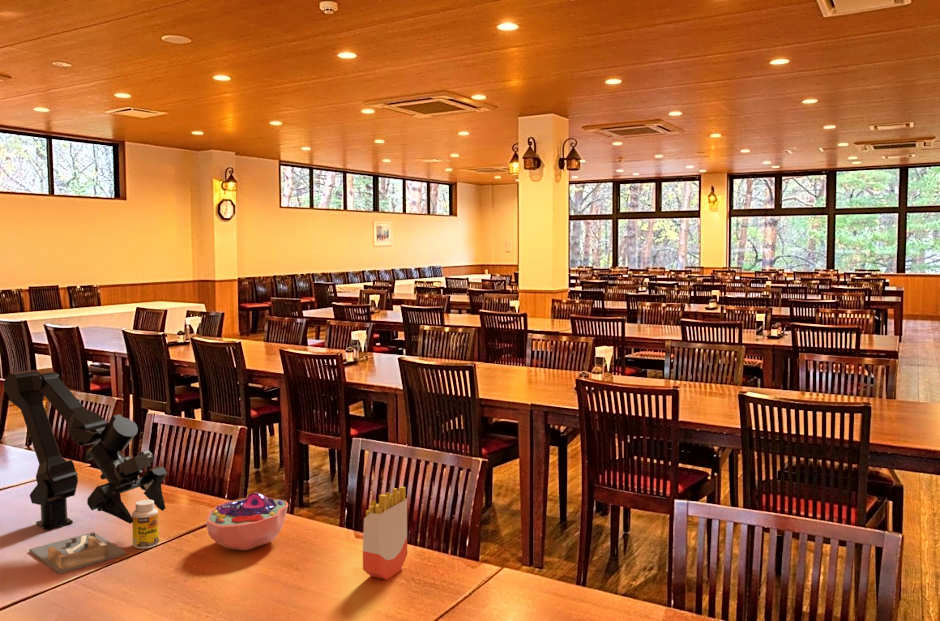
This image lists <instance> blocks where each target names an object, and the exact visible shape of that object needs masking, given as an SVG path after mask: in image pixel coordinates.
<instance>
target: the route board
mask: <svg viewBox="0 0 940 621" xmlns="http://www.w3.org/2000/svg"><path fill="white" fill-rule="evenodd" d="M90 536H93V537H95V538H97V539H98V540H100V541H102V542H103V543H105V544H106V545H108V547H109V557H106V558H103V559H99V560H96V561H93V562H89V563H86V564H82V565H79V566H76V567H72V568H69V569H65V570H62V569H61V568H60V567H58V566H57V565H55V564H54V563H53V562H51V561H50V560H49V559H48V548H49V547H54V548H55V549H56V550H58V551H59V552H61V553H62V554H64V555H65V556H68V555H71V554H75V553H78V552H82V551H85V550H89V548H88V537H90ZM28 550H29V553H30V554H32V555H33V556H34V557H36V558H37V559H38V560H40V561H41V562H43V563H44V564H46V565H47V566H48V567H50V568H51V569H52V570H54V572H56V573H57V574H59V575H60V574H65V573H67V572H71V571H75V570H78V569H82V568H84V567H89V566H91V565H94V564H95V565H96V564H99V563H101V562H105V561H108V560H113V559H114V558H118V557H121V556H125V555H126V554H127V551H126V550H124V549H122V548H121V547H119V546H117V545H116V544H114V543H112V542H111V541H109V540H107V538H106V539H105V538H104V537H102V536H101V535H99V534H97V533H96V532H94V531H92V532H87V533H85V534H80V535H77V536H74V537H69V538H65V539H63V540H59V541H54V542H51V543H48V544H43V545H40V546H36V547H32V548H29V549H28Z"/></svg>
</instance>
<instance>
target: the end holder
mask: <svg viewBox="0 0 940 621" xmlns="http://www.w3.org/2000/svg"><path fill="white" fill-rule="evenodd" d="M88 548H89V550H85V551H82V552H78V553H75V554H71V555H68V556H65V555H64V554H62V553H61V552H59V551H58V550H56V549H55V548H54V547H49V548H48V559H49V560H50V561H51V562H53V563H54V564H55V565H57V566H58V567H60V568H61V569H62V570H65V569H69V568H72V567H76V566H79V565H82V564H86V563H89V562H93V561H96V560H99V559H103V558H106V557H109V547H108V545H106V544H105V543H103V542H102V541H100V540H98V539H97V538H95V537H93V536H90V537H88Z"/></svg>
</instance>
